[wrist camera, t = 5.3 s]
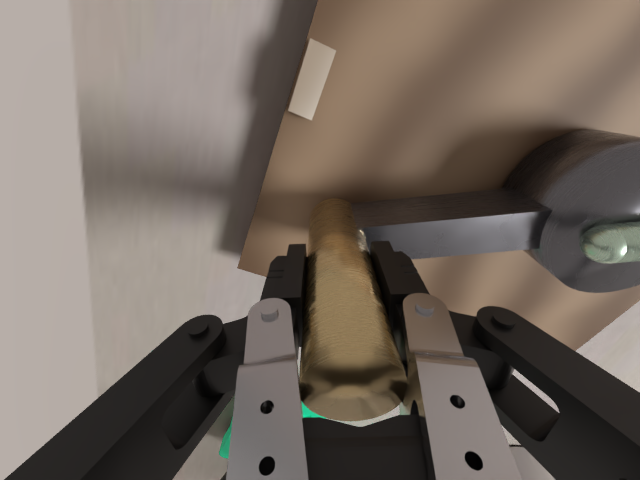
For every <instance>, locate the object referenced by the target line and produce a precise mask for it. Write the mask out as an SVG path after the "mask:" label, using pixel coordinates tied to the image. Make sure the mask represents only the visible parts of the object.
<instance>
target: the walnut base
mask: <svg viewBox="0 0 640 480" xmlns="http://www.w3.org/2000/svg"><path fill="white" fill-rule="evenodd" d="M585 129H595V130H603V131H608V132H614V133H620V134H626V135H632V136H638V137H640V0H318V2H317V5H316V9H315V12H314V15H313V19H312V22H311V25H310V29H309V32H308V35H307V39H306V42H305V45H304V49H303V52H302V55H301V59H300V62H299V65H298V68H297V72H296V75H295V78H294V82H293V85H292V88H291V92H290V95H289V98H288V102H287V105H286V108H285V112H284V115H283V118H282V122H281V125H280V128H279V131H278V135H277V138H276V141H275V145H274V148H273V151H272V155H271V158H270V161H269V165H268V168H267V171H266V175H265V178H264V181H263V185H262V188H261V191H260V194H259V198H258V201H257V204H256V208H255V211H254V214H253V218H252V221H251V224H250V228H249V231H248V234H247V238H246V241H245V244H244V248H243V251H242V254H241V257H240V261H239V264H238V267H237V268H239V269H242V270H245V271H249V272H252V273H255V274H258V275H262V276H265V277H267V274H268V270H269V266H270V263H271V262H272V261H273V260H274V259H275V258H276V257H277V256H287V251H288V246H289V244H306V251H308V236H309V220H310V214H311V212H312V210H313V209H314V207H315V206H316V205H317V204H318V203H320V202H321V201H323V200H326V199H330V198H340V199H343V200H346V201H348V202H349V203H358V202H368V201H379V200H389V199H399V198H410V197H420V196H431V195H441V194H451V193H462V192H472V191H482V190H493V189H502V187H503V185H504V183H505V181H506V180H507V178H508V176H509V175H510V174H511V172H512V171H513V169H514V168H515V167H516V166H517V165H518V164H519V163H520V162H521V161H522V160H523V159H524V158H525V157H526V156H527V155H528V154H529V153H531V152H532V151H533V150H535V149H536V148H537V147H539V146H540V145H542V144H544V143H545V142H547V141H549V140H551V139H553V138H555V137H557V136H560V135H562V134H565V133H569V132H572V131H577V130H585ZM412 262H413V264H414V267H415V268H416V269H417V271H418V273H419V275H420V277H421V279H422V281H423V282H424V284H425V286H426V288H427V290H428V292H429V294H430V295H433V296H435V297H437V298H438V299H440V300H441V301H442V302H443V303H444V304H445V305H446V306H447V309H448V310H449V311H452V312H456V313H461V314H466V315H471V316H476V314H477V312H478V310H479V309H481V308H482V307H486V306H497V307H502V308H506V309H508V310H511V311H513V312H515V313H516V314H518V315H520V316H521V317H523V318H524V319H526V320H527V321H529V322H530V323H532V324H534V325H535V326H537V327H538V328H540V329H541V330H543V331H544V332H546V333H548V334H549V335H551V336H552V337H554V338H555V339H557V340H558V341H560V342H562V343H563V344H565V345H566V346H568V347H569V348H571V349H572V350H574V351H576V350H577V349H578V348H580V347H581V346H582V345H583V344H585V343H586V342H587V341H588V340H590V339H591V338H592V337H594V336H595V335H596V334H597V333H599V332H600V331H601V330H602V329H604V328H605V327H606V326H608V325H609V324H610V323H611V322H613V321H614V320H615V319H616V318H618V317H619V316H620V315H622V314H623V313H624V312H625V311H627V310H628V309H629V308H630V307H632V306H633V305H634V304H636V303H637V302H638V301H639V300H640V285H637V286H634V287H631V288H627V289H624V290H619V291H614V292H606V293H589V292H582V291H578V290H575V289H572V288H570V287H568V286H566V285H565V284H563V283H562V282H561V281H560V280H558V279H557V278H556V277H555V276H554V275H552V274H551V273H550V272H549V271H548V270H546V269H545V268H544V267H543V266H541V265H540V264H539V263H538V262H537V261H535V260H534V259H533V258H532V257H531V256H529V255H528V254H527V253H526V252H524V251H523V250H517V251H505V252H493V253H482V254H470V255H458V256H447V257H435V258H424V259H412Z"/></svg>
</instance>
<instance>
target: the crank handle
mask: <svg viewBox="0 0 640 480" xmlns="http://www.w3.org/2000/svg"><path fill="white" fill-rule="evenodd" d="M372 241H389V242H390V244H391V246H392V248H393V250H394V252H399V251H402V252H403V253H405V254H406V255H407V256H409V257H410V258H411V260H412V259H424V258H435V257H447V256H458V255H470V254H482V253H493V252H505V251H517V250H523V251H524V252H526V253H527V254H528V255H529V256H531V257H532V258H533V259H534V260H535V261H537V262H538V263H539V264H540V265H541V266H543V267H544V268H545V269H546V270H548V271H549V272H550V273H551V274H552V275H554V276H555V277H556V278H557V279H558V280H560V281H561V282H562V283H563V284H565V285H566V286H568V287H570V288H572V289H575V290H578V291H582V292H589V293H606V292H614V291H619V290H624V289H627V288H631V287H634V286H637V285H640V137H638V136H632V135H626V134H620V133H614V132H608V131H603V130H595V129H585V130H577V131H572V132H569V133H565V134H562V135H560V136H557V137H555V138H553V139H551V140H549V141H547V142H545V143H544V144H542V145H540V146H539V147H537V148H536V149H535V150H533V151H532V152H531V153H529V154H528V155H527V156H526V157H525V158H524V159H523V160H522V161H521V162H520V163H519V164H518V165H517V166H516V167H515V168H514V169H513V171H512V172H511V174H510V175H509V176H508V178H507V180H506V181H505V183H504V185H503V187H502V189H493V190H482V191H472V192H462V193H451V194H441V195H431V196H420V197H410V198H399V199H389V200H379V201H368V202H358V203H349V202H348V201H346V200H343V199H340V198H330V199H326V200H323V201H321V202H320V203H318V204H317V205H316V206H315V207H314V209H313V210H312V212H311V214H310V220H309V236H308V251H307V268H306V283H305V299H304V315H303V330H302V345H301V361H300V377H299V388H300V396H301V401H302V402H303V404H304V405H305V406H306V407H307V408H308V409H309V410H311V411H312V412H314V413H316V414H318V415H320V416H322V417H325V418H329V419H333V420H340V421H360V420H367V419H371V418H375V417H378V416H381V415H383V414H386V413H387V412H389V411H391V410H393V409H394V408H396V407H397V406H398V405H399V404H400V403H401V402H402V401H403V400H404V395H405V389H406V384H407V377H406V374H405V371H404V367H403V364H402V361H401V357H400V354H399V351H398V347H397V344H396V340H395V337H394V334H393V330H392V327H391V324H390V320H389V317H388V314H387V310H386V307H385V304H384V300H383V297H382V294H381V290H380V287H379V283H378V280H377V277H376V273H375V270H374V267H373V263H372V260H371V257H370V246H371V242H372Z"/></svg>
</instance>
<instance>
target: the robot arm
mask: <svg viewBox="0 0 640 480" xmlns="http://www.w3.org/2000/svg"><path fill="white" fill-rule="evenodd" d="M370 257H371V260H372V263H373V267H374V270H375V273H376V277H377V280H378V283H379V287H380V290H381V294H382V297H383V300H384V304H385V307H386V310H387V314H388V317H389V320H390V324H391V327H392V330H393V334H394V337H395V340H396V344H397V347H398V351H399V354H400V357H401V361H402V364H403V367H404V371H405V374H406V377H407V384H406V389H405V395H404V400H403V401H402V402H401V403H400V404H399V410H400V415H398V416H395V417H392V418H389V419H386V420H383V421H380V422H377V423H373V424H370V425H367V426H364V427H356V426H352V425H348V424H344V423H340V422H337V421H333V420H329V419H325V418H321V417H309V418H303V411H302V402H301V396H300V388H299V375H298V365H297V359H298V350H299V347H301V345H302V330H303V315H304V299H305V283H306V268H307V251H306V244H289V246H288V251H287V256H277V257H276V258H275V259H274V260H273V261H272V262H271V263H270V266H269V270H268V274H267V279H266V281H265V285H264V288H263V292H262V296H261V299H260V301H259V302H257V303H256V304H255V305H253V306H252V307H251V309H250V310H249V313H248V316H246V317H244V318H242V319H239V320H236V321H233V322H229V323H225V324H223V323H222V321H221V319H220V318H218V317H217V316H214V315H201V316H197V317H195V318H192V319H190V320H189V321H187V322H185V323H184V324H183V325H182V326H181V327H179V328H178V329H177V330H176V331H175V332H174V333H173V334H171V335H170V336H169V337H168V338H167V339H166V340H164V341H163V342H162V343H161V344H160V345H159V346H158V347H156V348H155V349H154V350H153V351H152V352H151V353H149V354H148V355H147V356H146V357H145V358H144V359H143V360H141V361H140V362H139V363H138V364H137V365H136V366H135V367H133V368H132V369H131V370H130V371H129V372H128V373H126V374H125V375H124V376H123V377H122V378H121V379H120V380H118V381H117V382H116V383H115V384H114V385H113V386H111V387H110V388H109V389H108V390H107V391H106V392H105V393H103V394H102V395H101V396H100V397H99V398H98V399H97V400H95V401H94V402H93V403H92V404H91V405H90V406H89V407H87V408H86V409H85V410H84V411H83V412H82V413H80V414H79V415H78V416H77V417H76V418H75V419H74V420H72V421H71V422H70V423H69V424H68V425H67V426H65V427H64V428H63V429H62V430H61V431H60V432H59V433H57V434H56V435H55V436H54V437H53V438H52V439H50V441H48V442H47V443H46V444H45V445H44V446H42V447H41V448H40V449H39V450H38V451H37V452H35V453H34V454H33V455H32V456H31V457H30V458H29V459H27V460H26V461H25V462H24V463H23V464H22V465H21V466H19V467H18V468H17V469H16V470H15V471H14V472H13V473H11V474H10V475H9V476H8V477H7V478H6V479H4V480H172V479H173V478H174V476H175V475H176V474H177V472H178V471H179V469H180V468H181V467H182V465H183V464H184V463H185V461H186V460H187V459H188V457H189V456H190V454H191V453H192V452H193V450H194V449H195V448H196V446H197V445H198V443H199V442H200V441H201V439H202V438H203V437H204V435H205V434H206V433H207V431H208V430H209V428H210V427H211V426H212V424H213V423H214V422H215V420H216V419H217V417H218V416H219V415H220V413H221V412H222V411H223V409H224V408H225V407H226V405H227V404H228V402H229V401H230V400H231V398H232V397H233V396H234V394H235V400H234V409H233V419H232V428H231V438H230V447H229V457H228V466H227V472H226V473H225V475H224V476H223V477H222V478H221V479H220V480H640V393H639V392H638V391H636V390H635V389H633V388H631V387H630V386H628V385H627V384H625V383H624V382H622V381H621V380H619V379H617V378H616V377H614V376H613V375H611V374H610V373H608V372H607V371H605V370H603V369H602V368H600V367H599V366H597V365H596V364H594V363H593V362H591V361H589V360H588V359H586V358H585V357H583V356H582V355H580V354H579V353H577V352H576V351H574V350H572V349H571V348H569V347H568V346H566V345H565V344H563V343H562V342H560V341H558V340H557V339H555V338H554V337H552V336H551V335H549V334H548V333H546V332H544V331H543V330H541V329H540V328H538V327H537V326H535V325H534V324H532V323H530V322H529V321H527V320H526V319H524V318H523V317H521V316H520V315H518V314H516V313H515V312H513V311H511V310H508V309H506V308H502V307H497V306H486V307H482V308H481V309H479V310H478V312H477V314H476V316H471V315H466V314H461V313H456V312H452V311H449V310H448V309H447V306H446V305H445V304H444V303H443V302H442V301H441V300H440V299H438V298H437V297H435V296H433V295H430V294H429V292H428V290H427V288H426V286H425V284H424V282H423V281H422V279H421V277H420V275H419V273H418V271H417V269H416V268H415V267H414V264H413V262H412V260H411V258H410V257H409V256H407V255H406V254H405V253H403V252H402V251H399V252H394V250H393V248H392V246H391V244H390V242H389V241H372V242H371V246H370ZM514 369H516V370H517V371H518V372H519V373H520V374H522V375H523V376H524V377H525V378H527V379H528V380H529V381H530V382H532V383H533V384H534V385H535V386H536V387H538V388H539V389H540V390H541V391H543V392H544V393H545V394H546V395H548V396H549V397H550V398H551V399H552V400H553V401H554V402H555V404H556V405H557V407H558V409H559V412H560V413H558V412H557V411H556V410H554V409H553V408H552V407H551V406H550V405H548V404H547V403H546V402H545V401H544V400H542V399H541V398H540V397H539V396H538V395H536V394H535V393H534V392H533V391H532V390H530V389H529V388H528V387H527V386H526V385H524V384H523V383H522V382H521V381H520V380H518V379H517V378H516V377H515V376H514V375H512V373H513V371H514ZM501 425H502V426H503V427H504V428H505V429H506V430H507V431H508V432H509V433H510V434H511V435H512V436H513V437H514V438H515V439H516V440H517V441H518V442H519V443H520V444H521V445H522V446H523V447H509V444H508V441H507V439H506V436H505V434H504V431H503V428H502V426H501Z"/></svg>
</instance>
